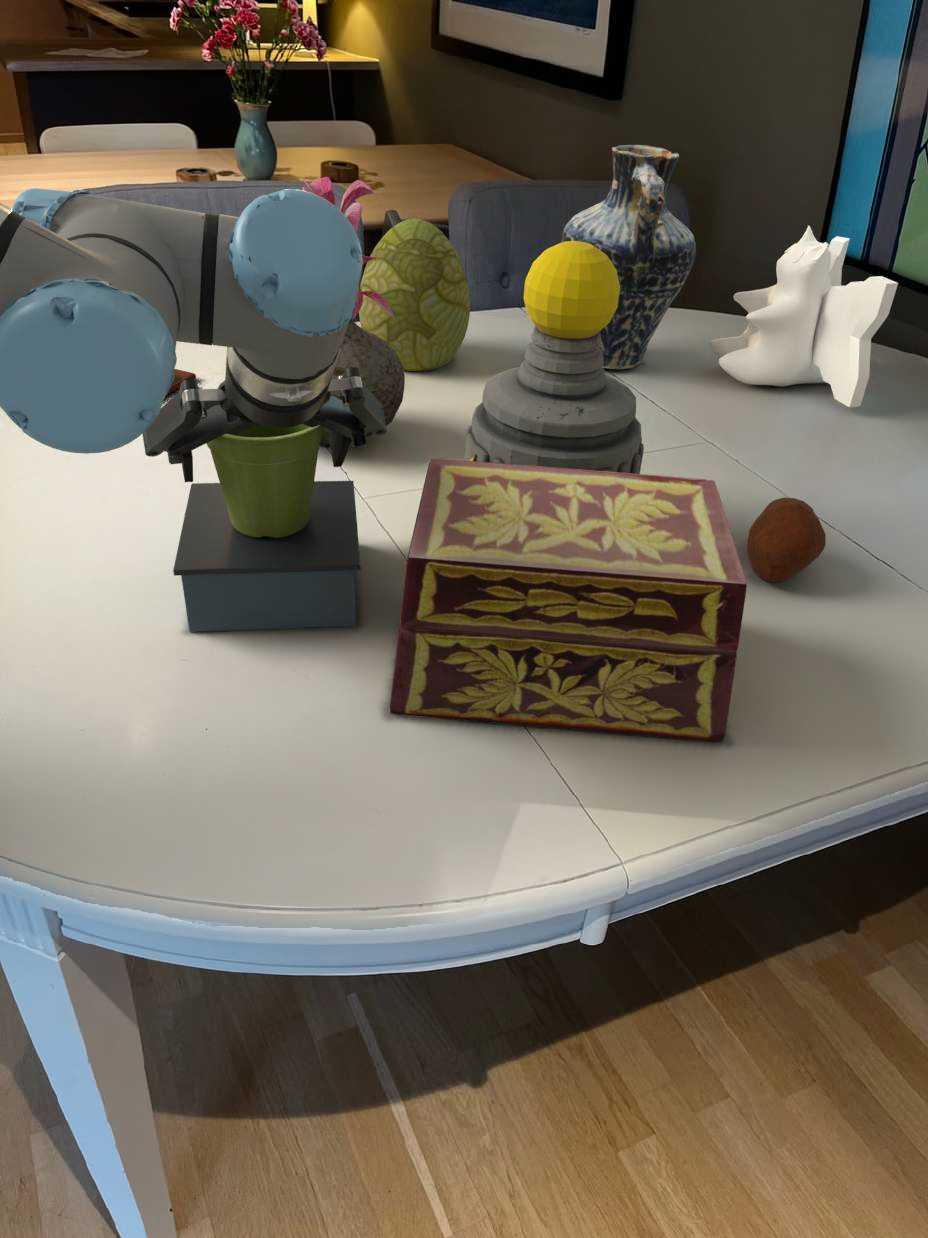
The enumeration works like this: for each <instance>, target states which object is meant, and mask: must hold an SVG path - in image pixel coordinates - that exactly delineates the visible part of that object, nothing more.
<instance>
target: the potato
mask: <svg viewBox="0 0 928 1238" xmlns="http://www.w3.org/2000/svg"><path fill="white" fill-rule="evenodd" d="M826 537H827V536H826V532H825V530H824V527H823V526H822V523H821V521H820V520H819V517H818V516H817V514H816V513H815V511H814V509H813V508H812V506H811V505H809V504H808V503H807V502H805V501H804V500H801V499H799V498H795V497H781V498H777V499H774V500H772V501H770V502H769V503H768V504H767V505H766V507H765V508H764V509H763V510H762V512H761V513H760V514H759V515H758V516H757V518H756V519H755V520H754V522H753V524H751V526H750V528H749V531H748V535H747V540H746V549H747V557H748V561H749V563H750V566H751V568H752V571H753V572H754V573H755V574H756V576H757V577H758V578H759V579H761V580H763V581H767V582H770V583H773V582H774V583H775V582H783V581H786V580H788V579H791V578H793V577H795V576H796V575H797V574H799V573H800V572H802V571H803V570H805V569H806V568H808V566H810V565H811V564H812V563H813V562H814V561H815V560H817V559H818V558H819V556H820V555H821V554H822V552H823V551H824V549H825V547H826V546H827V544H826V542H827V541H826V539H827V538H826Z"/></svg>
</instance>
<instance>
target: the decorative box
mask: <svg viewBox="0 0 928 1238" xmlns="http://www.w3.org/2000/svg"><path fill="white" fill-rule="evenodd" d="M422 488H423V489H422V492H421V496H420V501H419V505H418V509H417V514H416V518H415V522H414V527H413V530H412V535H411V539H410V543H409V549H408V552H407V554H408V555H407V559H406V566H405V572H404V581H403V590H402V597H401V599H402V600H401V608H400V614H399V615H400V616H399V625H398V633H397V641H396V648H395V656H394V663H393V664H394V666H393V673H392V682H391V691H390V699H389V713H390V714H393V715H400V716H408V717H409V716H411V717H422V718H433V719H443V720H444V719H445V720H455V721H456V720H457V721H468V722H478V723H479V722H480V723H490V724H500V725H501V724H502V725H514V726H515V725H516V726H524V727H525V726H526V727H537V728H538V727H539V728H549V729H561V730H574V731H584V732H585V731H586V732H596V733H597V732H598V733H607V734H620V735H631V736H632V735H633V736H643V737H654V738H655V737H657V738H668V739H681V740H692V741H706V742H724V740H725V737H726V731H727V725H728V720H729V719H728V718H729V713H730V712H729V711H730V706H731V705H730V704H731V698H732V691H733V684H734V678H735V671H736V664H737V657H738V653H737V652H738V649H739V643H740V637H741V629H742V623H743V615H744V610H745V602H746V595H747V587H748V585H747V584H748V583H747V580H746V576H745V574H744V570H743V566H742V564H741V560H740V556H739V554H738V551H737V547H736V543H735V541H734V538H733V535H732V532H731V528H730V525H729V522H728V518H727V516H726V513H725V510H724V506H723V502H722V499H721V497H720V494H719V489H718V486H717V484H716V481H715V480H713V479H706V478H695V477H683V476H672V475H671V476H670V475H658V474H657V475H656V474H644V473H640V474H633V473H620V472H607V471H594V470H581V469H568V468H555V467H542V466H529V465H515V464H502V463H489V462H476V461H465V460H462V459H447V458H431V459H430V460H429V463H428V466H427V471H426V474H425V478H424V483H423V487H422Z"/></svg>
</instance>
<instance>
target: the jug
mask: <svg viewBox="0 0 928 1238" xmlns="http://www.w3.org/2000/svg"><path fill="white" fill-rule="evenodd" d="M611 151H612V152H611V155H612V159H611V160H612V173H613V174H612V181H611V185H610V189H609V191H608V193H607V196H606V198H605V199H604V200H602V201H601V202H598V203H596V204H594V205H592V206H590V207H588V208H587V209H583V210H581V211H579V212H578V213H577V214H575V215H574V216H573V217H572V216H571V218H570V219H569V221H568V222H567V223H566V224H565V226H564V228H563V231H562V234H561V239H562V240H561V243H562V242H566V241H579V242H585V243H589V244H591V245H593V246H595V247H596V248H597V249H599V250H600V251H602V252H603V253H605V254H606V255H607V256H608V258H609V259H610V261H611V262H612V264H613V265H614V267H615V269H616V271H617V275H618V280H619V285H620V292H619V299H618V306H617V309H616V311H615V313H614V315H613V317H612V319H611V321H610V322H609V323H608V324H607V325H606V326H605V327H604V328H603V329H602V330H601V331H600V335H601V346H600V347H599V348H600V349H601V350H602V351H603V359H604V364H603V366H602V368H603V369H609V370H626V369H632V368H634V367H636V366H637V365H639V364H641V363H642V362H643V360H644V356H645V354H646V351H647V348H648V345H649V342H650V341H651V339H652V337H653V336H654V334H655V333H656V330H657V328H658V327H659V326H660V323H661V322H662V320H663V318H664V316H665V314H666V313H667V312H668V310H669V308H670V306H671V304H672V303H673V301H674V300H675V298H676V297H677V296H678V294H679V293H680V291H681V289H682V288H683V287H684V285H685V283H686V281H687V279H688V277H689V275H690V272H691V270H692V268H693V265H694V263H695V260H696V254H697V244H696V240H695V235H694V234H693V233H692V231H691V230H690V229H689V228H688V227H687V225H685V224H684V223H682V221H680V220H679V219H677V217H675V216H674V215H673V214H672V213H671V212H670V210H668V207H667V204H666V203H667V202H666V193H667V188H668V184H669V183H670V180H671V177H672V175H673V172H674V170H675V167H676V164H677V162H678V161H679V159H680V155H679V153H678V152H676V151H675V152H674V153H673V152H672V151H671V150H670V151H669V150H668V149H665V148H663V147H661V146H653V145H646V144H622V145H621V144H620V145H617V146H613V147H611Z"/></svg>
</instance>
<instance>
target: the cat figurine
mask: <svg viewBox="0 0 928 1238" xmlns="http://www.w3.org/2000/svg"><path fill="white" fill-rule="evenodd" d="M849 242H850V238H849V237H843V236H837V235H836V236H835V237H833V238H831V241H830V243H828V242H827V241H826V242H819V241H818V240H817V239H816V237H815V235H814V233H813V229H812V228H811V226H810V225H807V228H806V230H805V231H804V234H803V235H802V237H801V238H800V239H799V241H797V242H795V243H794V244H792V245H791V246H790V247H788V248H787V249H786V250H785V251H784V253H783V255H782V256H781V257H779V259H778V260H777V261H776V266H775V268H776V269H775V270H776V272H775V273H776V279H777V280H776V281H777V282H776V284H774V285H771V286H769V287H765V288H760V289H753V290H747V291H739V292H736V293H734V295H733V300H734V301H735V302H736V303H738V304H739V305H740V306H741V307H742V308H743V309H744V310H745V311H746V312H747V315H746V316H745V320H746V321H747V322H748V324H747V327H746V329H745V330H744V331H743V333H741V334H740V335H739V336H731V337H729V336H727V337H721V338H717V339H713V340H710V341H709V347H710V348H711V349H712V351H713V352H714V353H715V355H717V356H718V357H720V358H718V364H719V366H720V368H722V370H723V371H724V372H726V374H728V375H729V376H730V377H732V378H733V379H735V380H736V381H739V382H741V383H743V384H746V385H753V386H754V385H755V386H773V387H788V386H793V385H800V384H829V385H830V388H831V392H832V394H833V395H832V396H833V399H834V400H836V401H837V402H839V403H841V404H843V405H844V406H846V407H847V408H856V407H861V405H862V403H863V398H864V397H865V396H864V395H865V392H866V389H867V386H868V383H869V380H870V369H871V349H872V338H874V336H875V334H876V333H877V331H878V330H879V329H880V328H881V326H882V325H883V324H884V322H885V321H886V319H887V318H888V316H889V314H890V311H891V308H892V305H893V301H894V298H895V295H896V291H897V288H898V286H899V282H897V281H894V280H892V279H890V278H887V277H885V276H883V275H879V276H869V277H868V278H866V279H865V280H864V281H851V282H849V283H848V284H846V285H844V284H843V285H842V275H843V274H842V273H843V265H844V261H845V258H846V254H847V251H848V247H849Z"/></svg>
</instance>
